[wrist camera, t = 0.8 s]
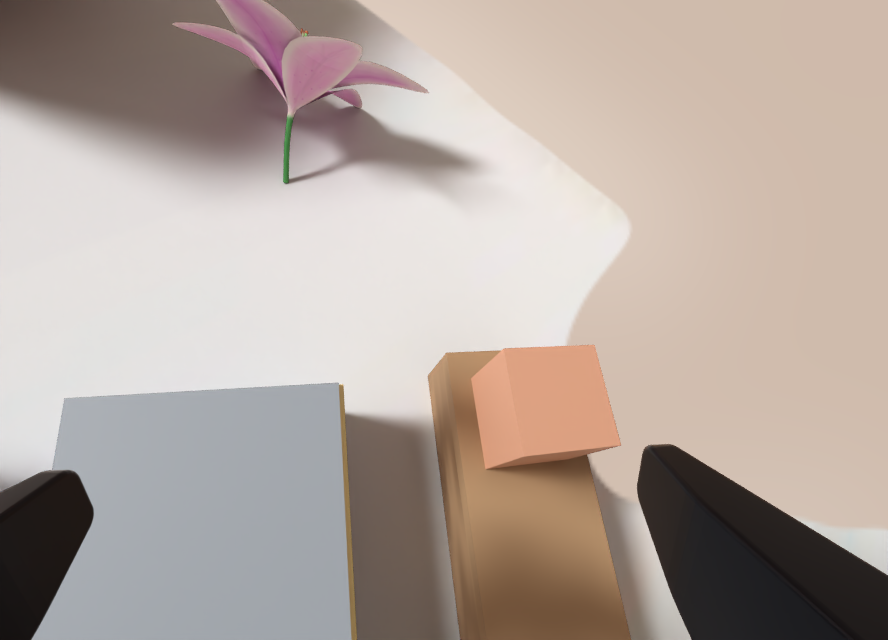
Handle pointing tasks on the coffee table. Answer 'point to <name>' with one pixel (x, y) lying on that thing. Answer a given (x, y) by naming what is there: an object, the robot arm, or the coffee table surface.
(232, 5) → the lily
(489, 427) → the block
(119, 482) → the panel
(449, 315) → the coffee table surface
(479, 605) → the pallet
